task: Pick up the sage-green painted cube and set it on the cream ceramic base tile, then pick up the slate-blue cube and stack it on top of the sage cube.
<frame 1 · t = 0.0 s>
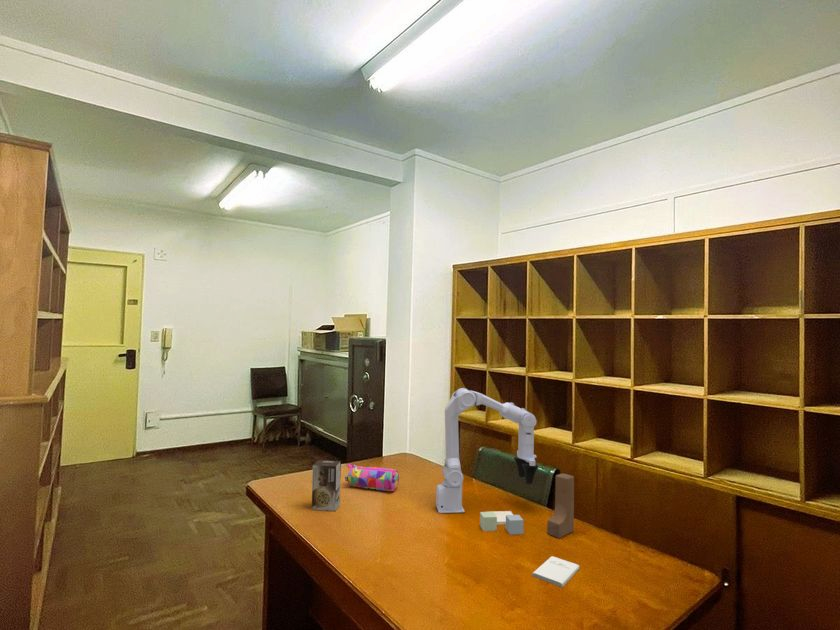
hand: (525, 480, 169), 10 cm above the table, tool pointing down, fingers open, 7 cm apart
base tile: (502, 520, 157), on the table
sage cube: (488, 528, 149), on the table
pencil case: (371, 489, 185), on the table
coffee box: (325, 508, 163), on the table
wooden block: (560, 533, 147), on the table
slate cube: (514, 531, 147), on the table
external hard drive: (556, 575, 122), on the table
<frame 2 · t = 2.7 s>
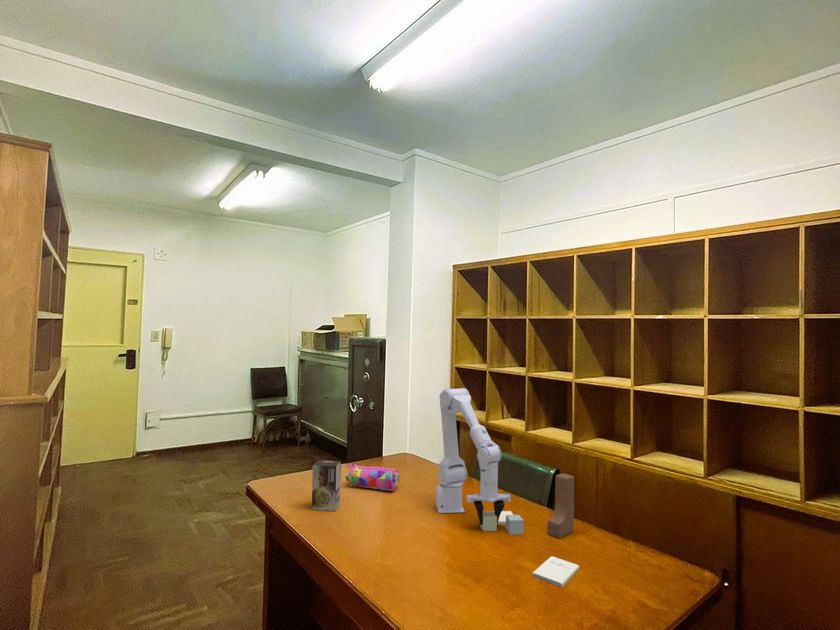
hand: (488, 523, 149), 1 cm above the table, tool pointing down, fingers closed on sage cube, 4 cm apart
sage cube: (488, 528, 149), on the table, touching gripper
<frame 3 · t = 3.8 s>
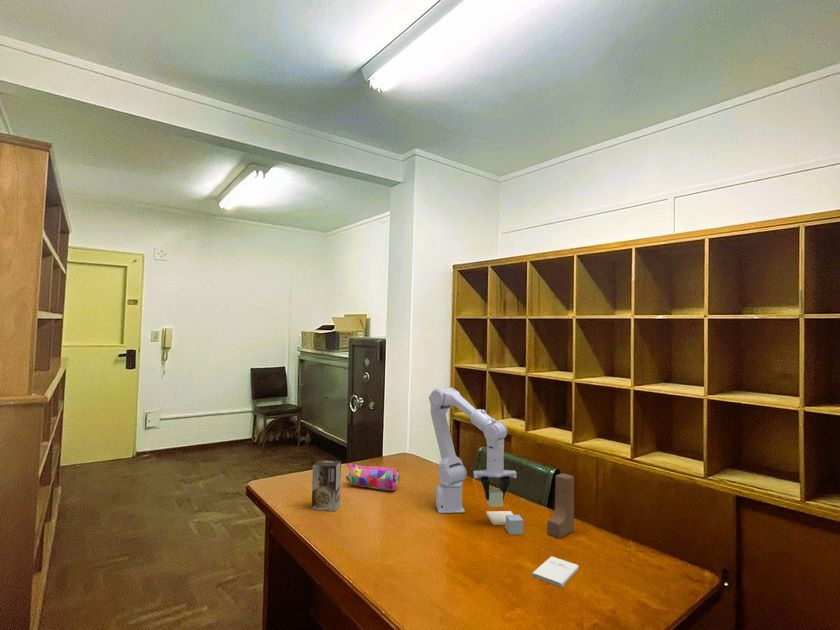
hand: (494, 498, 153), 8 cm above the table, tool pointing down, fingers closed on sage cube, 4 cm apart
sage cube: (494, 504, 152), point 7 cm above the table, touching gripper
everything else where it was.
when the fingers open (4 cm above the table, at t = 5.3 s): sage cube drops 2 cm, point 1 cm above the table.
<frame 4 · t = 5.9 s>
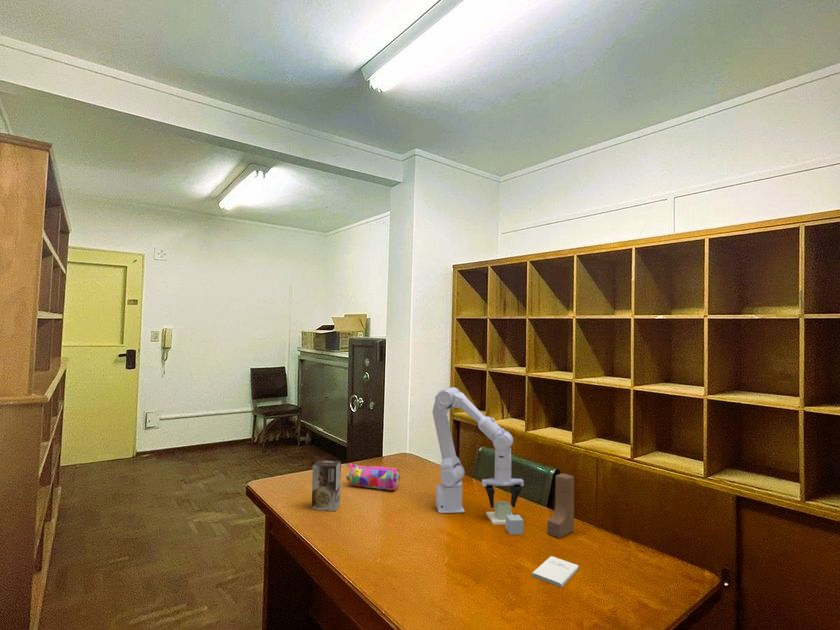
hand: (502, 506, 157), 4 cm above the table, tool pointing down, fingers open, 7 cm apart
sage cube: (502, 516, 157), point 1 cm above the table
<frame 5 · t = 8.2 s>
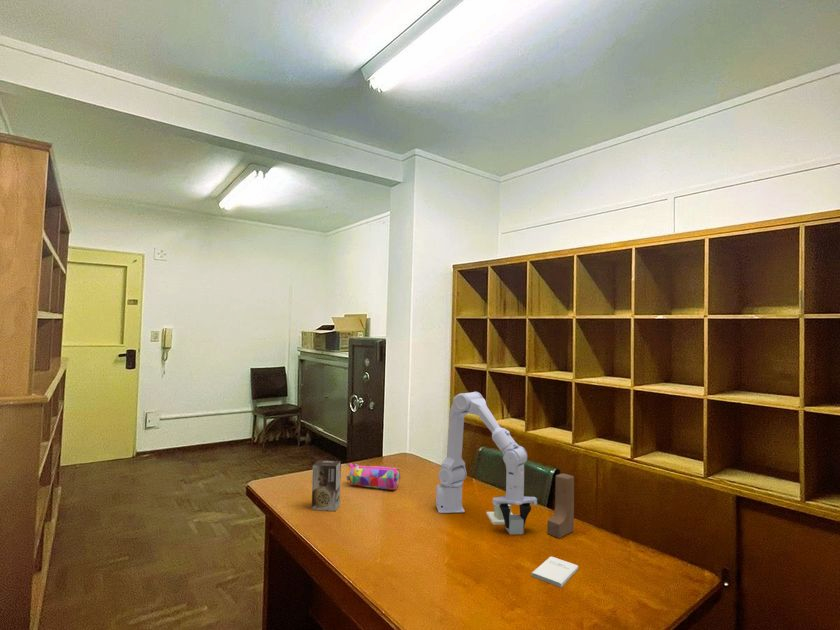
hand: (514, 526, 147), 1 cm above the table, tool pointing down, fingers closed on slate cube, 4 cm apart
base tile: (502, 520, 157), on the table, touching sage cube
sage cube: (502, 516, 157), point 1 cm above the table, touching base tile
slate cube: (514, 531, 147), on the table, touching gripper
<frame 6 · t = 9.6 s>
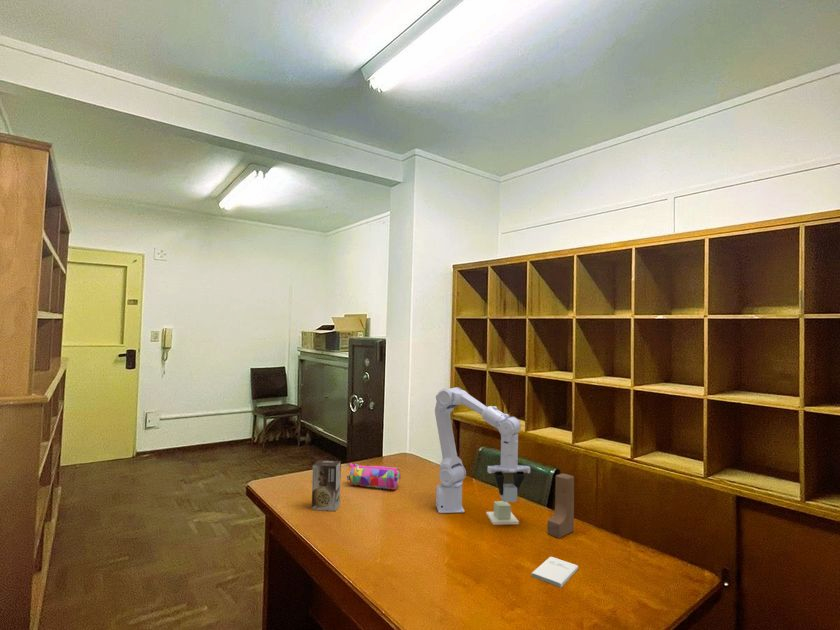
hand: (508, 494, 152), 10 cm above the table, tool pointing down, fingers closed on slate cube, 4 cm apart
base tile: (502, 520, 157), on the table
sage cube: (502, 516, 157), point 1 cm above the table
slate cube: (508, 499, 152), point 9 cm above the table, touching gripper
when the fingers open (8 cm above the table, at t = 10.8 s): slate cube drops 1 cm, resting on sage cube.
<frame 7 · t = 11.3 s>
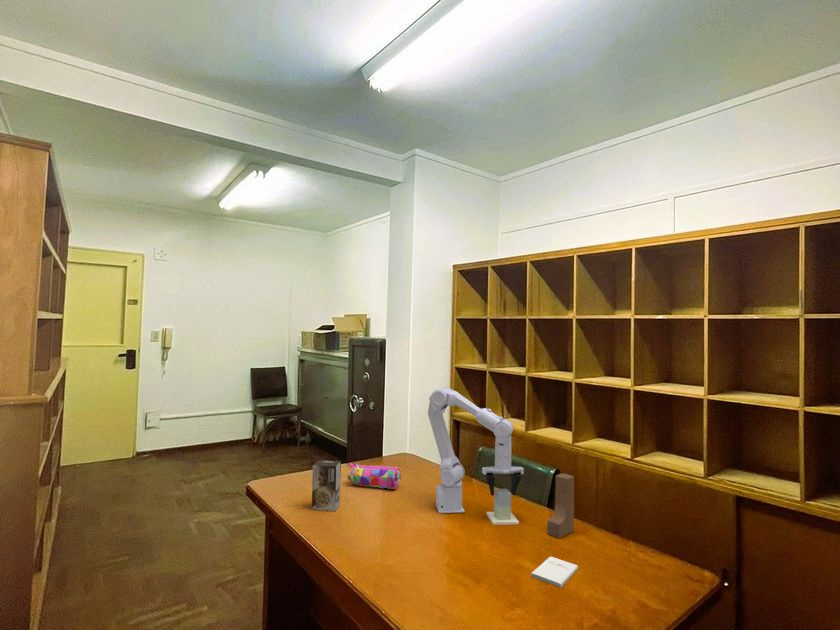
hand: (502, 494, 157), 8 cm above the table, tool pointing down, fingers open, 7 cm apart
base tile: (502, 521, 157), on the table, touching sage cube
sage cube: (502, 517, 156), point 1 cm above the table, touching base tile, slate cube
slate cube: (502, 504, 157), point 5 cm above the table, touching sage cube
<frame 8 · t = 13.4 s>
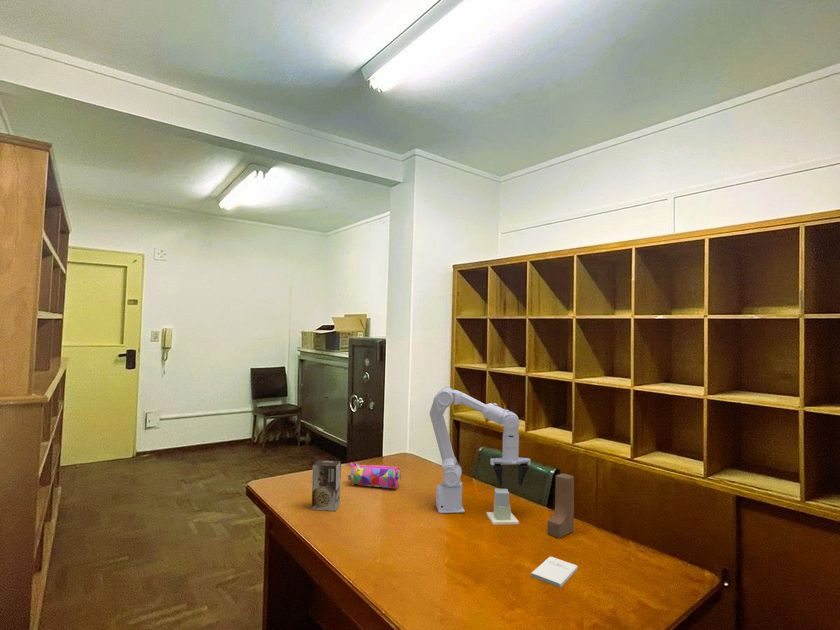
hand: (510, 484, 162), 10 cm above the table, tool pointing down, fingers open, 7 cm apart
sage cube: (502, 517, 156), point 1 cm above the table, touching base tile
slate cube: (501, 503, 157), point 5 cm above the table
at the end: sage cube 0.5 cm off-centre on the base tile, point 1.5 cm above the base tile's base; slate cube 0.3 cm off-centre on the sage cube, point 4.5 cm above the sage cube's base; slate cube tilted 1° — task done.
